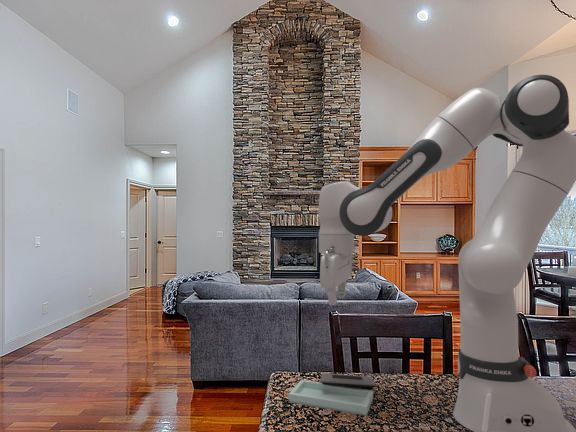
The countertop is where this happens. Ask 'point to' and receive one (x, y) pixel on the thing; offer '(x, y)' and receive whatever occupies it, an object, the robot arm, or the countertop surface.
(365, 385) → the electrical outlet
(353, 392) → the parts tray
